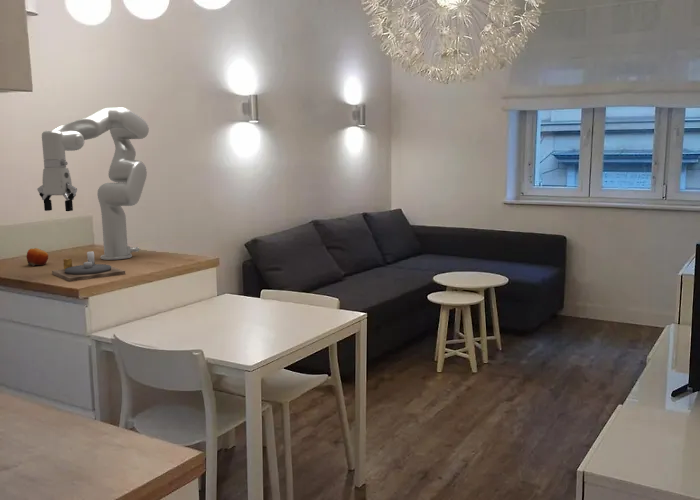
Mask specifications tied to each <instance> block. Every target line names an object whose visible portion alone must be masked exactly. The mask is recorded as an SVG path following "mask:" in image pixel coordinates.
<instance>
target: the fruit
mask: <svg viewBox="0 0 700 500" xmlns="http://www.w3.org/2000/svg"><path fill="white" fill-rule="evenodd" d="M48 260H49V254H48V252H46V251H45V250H43V249H40V248H38V247H34V248H30V249H28V251H27V252H26V261H27V264H28V266H32V268H33V267H34V266H44V265H46V264H47V261H48Z"/></svg>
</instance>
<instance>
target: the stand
mask: <svg viewBox="0 0 700 500" xmlns="http://www.w3.org/2000/svg"><path fill="white" fill-rule="evenodd" d="M105 265H107V264H105ZM110 266H111V270H109V271H106V272H102V273H95V274H83V275H74V274H66V273H65V269H66V268H69V267H73V260H72V258H64V259H63V269H55V270H51V274H52V275H53V276H56V277H58V278H61V279H62V280H65V281H68V282H77V281H82V280H83V281H84V280H90V279H98V278H106V277H107V278H108V277H114V276H120V275H122V276H123V275H126V273H127V272H126V270H124V269H121V268H118V267H115V266H113V265H110Z"/></svg>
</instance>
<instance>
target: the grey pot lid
mask: <svg viewBox="0 0 700 500" xmlns="http://www.w3.org/2000/svg"><path fill="white" fill-rule="evenodd" d="M86 256H87V261H85V262H83V264H80V265H74V266H73V265H72V267H69V268H66V269H65V273H66V274H74V275H83V274H95V273H102V272H106V271H109V270H111V266H112V265H109V264H106V265H105V264H104V263H103V264H101V263H98V264H97V263H96V264H95V253H94V251H87V252H86Z"/></svg>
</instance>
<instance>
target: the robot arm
mask: <svg viewBox="0 0 700 500" xmlns="http://www.w3.org/2000/svg"><path fill="white" fill-rule="evenodd" d="M149 129H150V128H149V125H148V122H147V121H146V120H145V119H144V118H142V117H141V116H140V115H138V114H137V113H135V112H133V111H132V110H131V109H129V108H126V107H124V106H120V107H119V106H115V107H104V108H100V109H99V110H97V111H96V112H93V113H92V114H89V115H88V116H86V117H83V118H81V119H78V120H75V121H71V122H68V123H65V124H62V125H59V126H58V127H56V128H54V129H51V130H45V131H43V132H42V133H41V144H42V157H43V167H44V168H43V170H42V185H40V186H39V187H38V188H37V189H36V190H37V192H38V193H39V196H40V198H41V200H42V201H43V209H44V211H45V212H49V211H52V210H53V204H52V200H51V198H52V196H63V197H64V199H65V200H64V206H65V211H66V212H73V211H74V206H73V205H74V203H73V200H74V199H75V197H76V196H77V191H78V188H77V187H76V186H74V185H73V184H72V183H73V182H72V177H71V173H70V170H69V168H68V167H67V166H68V161H67V159H66V152H67V151H68V152H70V151H71V152H72V151H73V152H75V151H79V150H81V149H82V148H83V147H84V146H85V145H84V144H85V141H86V140H92V139H95V138H98V137H99V136H101V135H103V134H105V133H106V132H108V131H109V134H110V136H111V137H112V140H113V143H114V148H115V149H114V153H113V157H112V160H111V163H110V165H109V169H108V175H107V176H108V178H109V179H110V181H111V182H107V183H102V184H101V185H100V186H99V187H98V188H97V199H98V202H99V207H100V212H101V214H100V215H101V225H102V226H101V227H102V239H103V253H104V254H101V255H100V259H101V260H105V261H107V260H108V261H116V260H118V261H119V260H126V259H129V258H133V254H132V253H134V252H136V253H137V252H139V251H140V247H139V246H136V247H134V246H133V247H132V246H129V245H128V233H127V232H128V231H127V218H126V217H127V215H126V213H125V210H124V209H123V208H122V207H131V206H132V207H133V206H135V205H137V204H138V202H139V201H140V198H141V197H142V193H143V190H144V186H145V184H146V180H147V173H148V171H147V167H146V165H145V163H143V162H142V161H141V160H137V159H136V148H135V147H134V145H133V143H132V142H131V140H142V139H145V138H146V137H147V136H148V135H149V131H150V130H149Z"/></svg>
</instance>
